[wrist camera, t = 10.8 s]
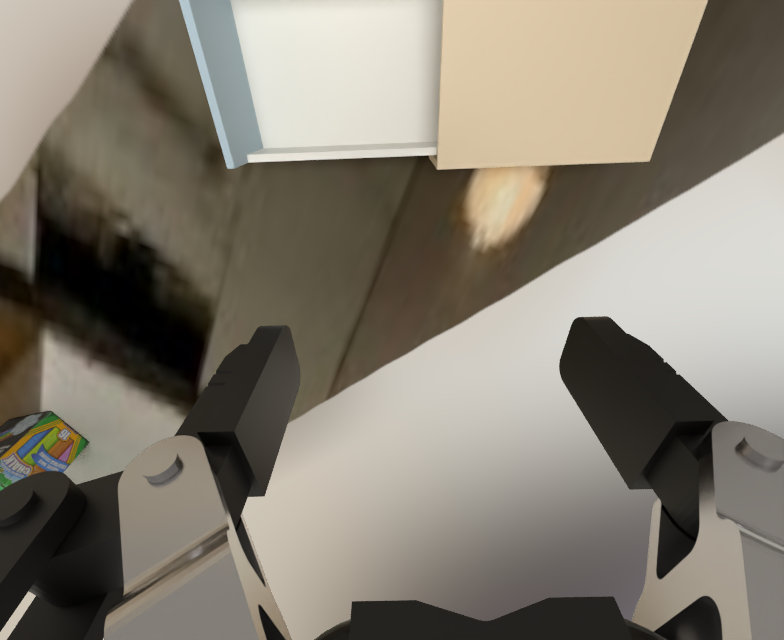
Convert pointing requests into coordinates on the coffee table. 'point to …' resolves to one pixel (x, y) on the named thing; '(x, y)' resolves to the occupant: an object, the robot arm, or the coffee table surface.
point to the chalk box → (36, 446)
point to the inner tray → (319, 76)
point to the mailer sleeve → (558, 79)
